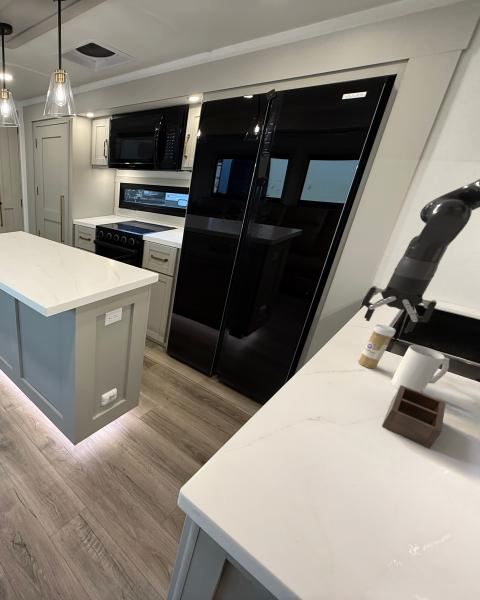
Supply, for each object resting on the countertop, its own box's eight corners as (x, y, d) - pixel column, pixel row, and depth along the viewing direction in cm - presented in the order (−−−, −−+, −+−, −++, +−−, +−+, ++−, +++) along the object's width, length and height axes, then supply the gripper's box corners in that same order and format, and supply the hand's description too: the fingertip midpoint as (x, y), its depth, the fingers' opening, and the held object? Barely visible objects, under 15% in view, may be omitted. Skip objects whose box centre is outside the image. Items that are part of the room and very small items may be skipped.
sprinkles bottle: (354, 361, 98) (372, 324, 93) (364, 359, 99) (383, 323, 94) (369, 369, 94) (389, 331, 89) (380, 368, 95) (400, 330, 90)
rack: (435, 418, 76) (445, 402, 74) (429, 449, 67) (441, 432, 65) (391, 399, 82) (400, 384, 80) (381, 426, 73) (391, 410, 71)
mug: (400, 393, 84) (421, 356, 80) (383, 378, 91) (402, 343, 86) (443, 400, 83) (468, 363, 78) (423, 384, 89) (445, 349, 84)
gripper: (451, 279, 82) (420, 332, 89) (381, 265, 92) (358, 313, 99) (449, 285, 78) (417, 340, 84) (376, 269, 88) (352, 319, 94)
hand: (385, 325), depth 91 cm, fingers open, 8 cm apart
